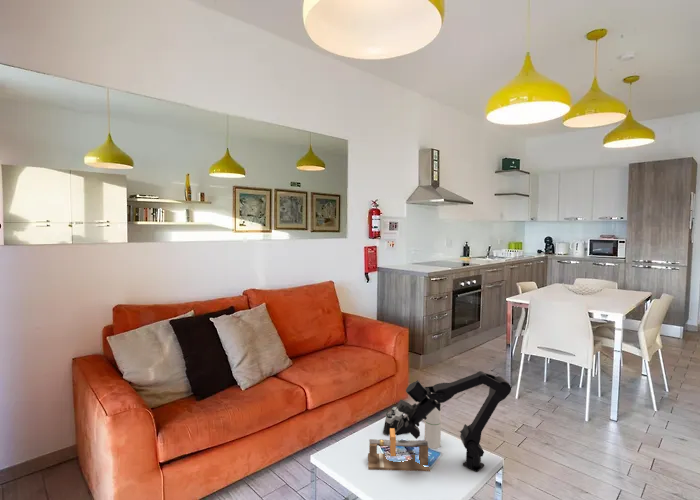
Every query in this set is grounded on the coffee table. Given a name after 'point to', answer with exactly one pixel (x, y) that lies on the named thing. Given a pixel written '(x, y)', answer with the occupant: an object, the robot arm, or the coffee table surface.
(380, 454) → the stand
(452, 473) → the coffee table surface
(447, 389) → the robot arm
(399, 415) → the camera
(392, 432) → the collar
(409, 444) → the pipe
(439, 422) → the cylindrical container
